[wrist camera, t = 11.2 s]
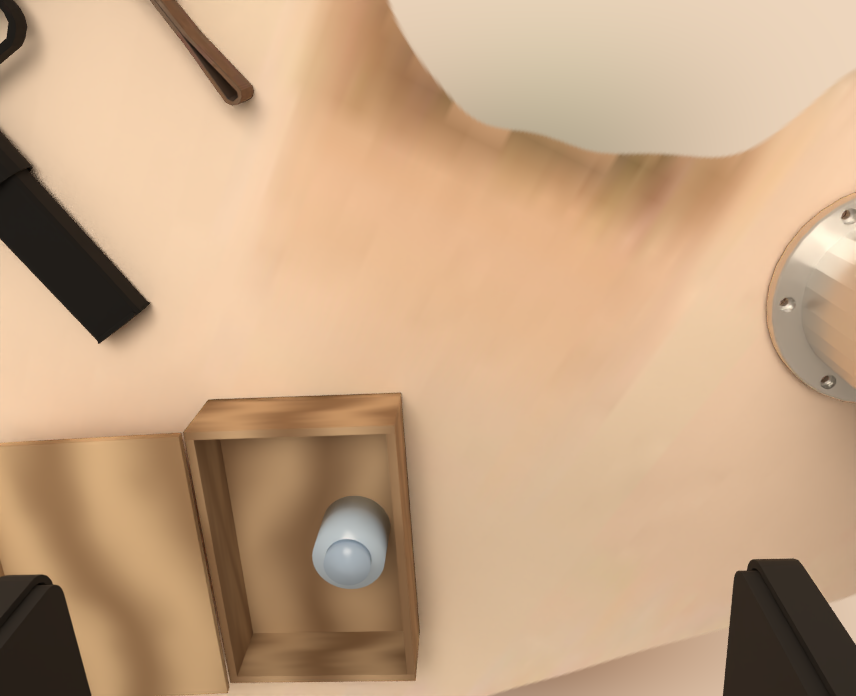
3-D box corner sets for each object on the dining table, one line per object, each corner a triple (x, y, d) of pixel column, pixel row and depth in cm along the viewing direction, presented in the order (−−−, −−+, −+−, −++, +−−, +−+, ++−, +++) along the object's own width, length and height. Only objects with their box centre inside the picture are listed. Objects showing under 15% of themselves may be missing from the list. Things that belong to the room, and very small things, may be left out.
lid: (-61, 460, 42) (-42, 444, 43) (20, 718, 48) (34, 695, 50) (171, 447, 41) (181, 432, 43) (222, 708, 48) (229, 686, 49)
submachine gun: (368, 139, 38) (-13, -378, 31) (-16, 432, 46) (-396, 74, 38) (377, 127, 43) (44, -331, 35) (24, 397, 50) (-312, 69, 43)
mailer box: (400, 392, 47) (394, 425, 43) (419, 631, 53) (415, 680, 49) (208, 399, 48) (183, 432, 43) (249, 634, 54) (230, 682, 50)
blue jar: (387, 494, 49) (380, 533, 45) (392, 553, 50) (386, 595, 46) (319, 496, 49) (306, 535, 45) (326, 554, 51) (314, 597, 47)
